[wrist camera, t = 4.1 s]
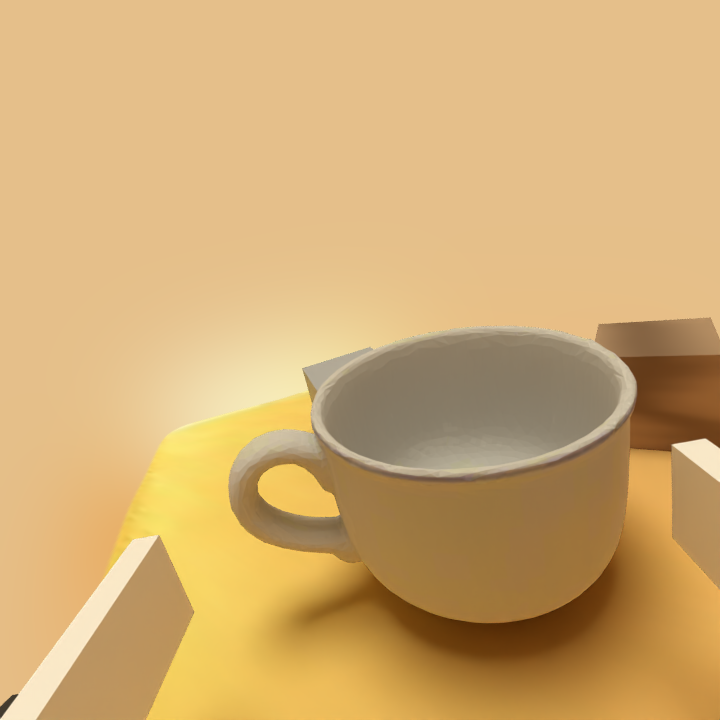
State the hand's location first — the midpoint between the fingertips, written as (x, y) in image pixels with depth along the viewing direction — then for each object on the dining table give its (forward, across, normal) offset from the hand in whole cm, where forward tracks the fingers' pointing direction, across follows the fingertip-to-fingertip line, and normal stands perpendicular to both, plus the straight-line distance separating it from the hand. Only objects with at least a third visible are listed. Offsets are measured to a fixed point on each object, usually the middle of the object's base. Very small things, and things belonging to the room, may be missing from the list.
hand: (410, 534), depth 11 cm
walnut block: (+12, +13, -6) cm, 19 cm away
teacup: (+5, +1, -6) cm, 8 cm away
